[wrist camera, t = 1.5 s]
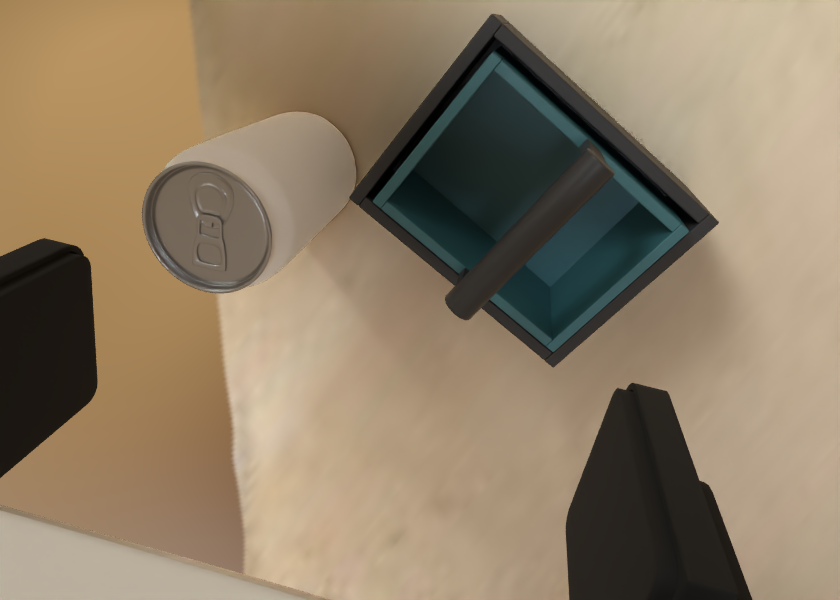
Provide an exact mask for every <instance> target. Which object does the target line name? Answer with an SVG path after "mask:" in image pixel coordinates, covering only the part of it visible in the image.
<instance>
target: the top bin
mask: <svg viewBox="0 0 840 600" xmlns="http://www.w3.org/2000/svg"><path fill="white" fill-rule="evenodd" d="M373 203H375V204H376V205H377V206H378V207H379V208H381V209H382V210H383V211H384V212H385V213H387V214H388V215H389V216H390V217H391V218H393V219H394V220H395V221H396V222H397V223H399V224H400V225H401V226H402V227H403V228H405V229H406V230H407V231H408V232H409V233H411V234H412V235H413V236H414V237H415V238H417V239H418V240H419V241H420V242H421V243H423V244H424V245H425V246H426V247H427V248H429V249H430V250H431V251H432V252H433V253H435V254H436V255H437V256H438V257H439V258H441V259H442V260H443V261H444V262H445V263H447V264H448V265H449V266H450V267H451V268H453V269H454V270H455V271H456V272H457V273H459V276H458V279H457V283H456V286H455V287H454V288H453V289H452V290H451V291H450V292H449V293H448V294H447V295H446V297H445V301H446V304H447V306H448V307H449V309H450V310H451V311H452V312H453V313H454V314H455V315H457V316H458V317H459V318H461V319H463V320H469V319H470V318H471V317H472V316H473V315H474V314H475V313H476V312H477V311H478V310H479V309H480V308H481V307H482V306H483V305H484V304H485V303H486V302H487V301H488V300H489V299H490V300H491V301H492V302H493V303H494V304H496V305H497V306H498V307H499V308H500V309H502V310H503V311H504V312H505V313H506V314H508V315H509V316H510V317H511V318H512V319H514V320H515V321H516V322H517V323H518V324H520V325H521V326H522V327H523V328H524V329H526V330H527V331H528V332H529V333H530V334H532V335H533V336H534V337H535V338H536V339H538V340H539V341H540V342H541V343H542V344H544V345H545V346H546V347H547V348H548V349H550V350H551V351H552V352H554V351H555V350H557V349H558V348H559V347H560V346H561V345H562V344H563V343H564V342H566V341H567V340H568V339H569V338H570V337H571V336H572V335H573V334H575V333H576V332H577V331H578V330H579V329H580V328H581V327H582V326H584V325H585V324H586V323H587V322H588V321H589V320H590V319H592V318H593V317H594V316H595V315H596V314H597V313H598V312H599V311H601V310H602V309H603V308H604V307H605V306H606V305H607V304H608V303H610V302H611V301H612V300H613V299H614V298H615V297H616V296H617V295H619V294H620V293H621V292H622V291H623V290H624V289H625V288H626V287H628V286H629V285H630V284H631V283H632V282H633V281H634V280H636V279H637V278H638V277H639V276H640V275H641V274H642V273H643V272H645V271H646V270H647V269H648V268H649V267H650V266H651V265H652V264H654V263H655V262H656V261H657V260H658V259H659V258H660V257H661V256H663V255H664V254H665V253H666V252H667V251H668V250H669V249H670V248H672V247H673V246H674V245H675V244H676V243H677V242H678V241H680V240H681V239H682V238H683V237H684V236H685V235H686V234H687V233H689V230H688V229H687V227H686V226H685V224H684V223H683V222H682V220H681V219H680V218H679V216H678V215H677V213H676V212H675V211H674V209H673V208H672V207H671V205H670V204H669V202H668V201H667V200H666V198H665V197H664V195H663V194H662V193H661V191H660V190H659V189H658V188H657V187H656V186H655V185H653V184H652V183H651V182H650V181H649V180H648V179H647V178H646V177H645V176H644V175H642V174H641V173H640V172H639V171H638V170H637V169H636V168H635V167H634V166H633V165H632V164H630V163H629V162H628V161H627V160H626V159H625V158H624V157H623V156H622V155H621V154H620V153H618V152H617V151H616V150H615V149H614V148H613V147H612V146H611V145H610V144H609V143H607V142H606V141H605V140H604V139H603V138H602V137H601V136H600V135H599V134H598V133H597V132H595V131H594V130H593V129H592V128H591V127H590V126H589V125H588V124H587V123H586V122H585V121H583V120H582V119H581V118H580V117H579V116H578V115H577V114H576V113H575V112H574V111H572V110H571V109H570V108H569V107H568V106H567V105H566V104H565V103H564V102H563V101H562V100H560V99H559V98H558V97H557V96H556V95H555V94H554V93H553V92H552V91H551V90H550V89H548V88H547V87H546V86H545V85H544V84H543V83H542V82H541V81H540V80H539V79H537V78H536V77H535V76H534V75H533V74H532V73H531V72H530V71H529V70H528V69H527V68H525V67H524V66H523V65H522V64H521V63H520V62H519V61H518V60H517V59H516V58H515V57H513V56H512V55H511V54H510V53H509V52H508V51H507V50H506V49H505V48H504V47H502V46H500V47H499V48H498V49H496V50H495V51H493V52H492V53H491V54H490V55H489V57H488V58H487V59H486V60H485V62H484V63H483V64H482V65H481V67H480V68H479V69H478V70H477V72H476V73H475V74H474V75H473V77H472V78H471V79H470V80H469V82H468V83H467V84H466V85H465V87H464V88H463V89H462V90H461V92H460V93H459V94H458V95H457V97H456V98H455V99H454V100H453V102H452V103H451V104H450V105H449V106H448V108H447V109H446V110H445V111H444V113H443V114H442V115H441V116H440V118H439V119H438V120H437V121H436V123H435V124H434V125H433V126H432V128H431V129H430V130H429V131H428V133H427V134H426V135H425V136H424V138H423V139H422V140H421V141H420V143H419V144H418V145H417V146H416V148H415V149H414V150H413V151H412V153H411V154H410V155H409V156H408V158H407V159H406V160H405V161H404V163H403V164H402V165H401V166H400V168H399V169H398V170H397V171H396V173H395V174H394V175H393V176H392V178H391V179H390V180H389V181H388V182H387V184H386V185H385V186H384V187H383V189H382V190H381V191H380V192H379V194H378V195H377V196H376V197H375V199H374V200H373Z"/></svg>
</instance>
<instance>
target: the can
mask: <svg viewBox="0 0 840 600" xmlns="http://www.w3.org/2000/svg"><path fill="white" fill-rule="evenodd" d="M355 183H356V164H355V159H354V155H353V152H352V150H351V148H350V146H349V144H348V142H347V140H346V139H345V137H344V136H343V135H342V133H341V132H340V131H339V130H338V129H337V128H336V127H335V126H334V125H332V124H331V123H330V122H329V121H327V120H326V119H324V118H322V117H321V116H318V115H316V114H312V113H308V112H287V113H282V114H278V115H275V116H272V117H269V118H267V119H264V120H261V121H258V122H255V123H253V124H250V125H247V126H245V127H242V128H239V129H236V130H234V131H231V132H228V133H226V134H223V135H220V136H218V137H215V138H212V139H210V140H207V141H205V142H202V143H199V144H197V145H195V146H192V147H190V148H188V149H186V150H184V151H182V152H181V153H179V154H178V155H176V156H175V157H174V158H173V159H171V160H170V161H169V162H168V164H167V165H166V166H165V167H164V169H163V170H162V172H161V173H160V174H159V175H158V176H157V177H156V178H155V179H154V180H153V181H152V183H151V184H150V186H149V188H148V189H147V192H146V194H145V197H144V201H143V208H142V221H143V227H144V232H145V235H146V238H147V241H148V243H149V245H150V247H151V249H152V251H153V253H154V254H155V256H156V258H157V259H158V260H159V262H160V263H161V264H162V265H163V266H164V267H165V268H166V269H167V270H168V271H169V272H170V273H171V274H172V275H173V276H174V277H176V278H177V279H178V280H180V281H182V282H183V283H185V284H187V285H189V286H191V287H193V288H195V289H198V290H202V291H205V292H210V293H230V292H234V291H238V290H241V289H243V288H245V287H250V286H254V285H257V284H260V283H262V282H264V281H266V280H268V279H269V278H271V277H272V276H274V275H275V274H276V273H277V272H279V271H280V270H281V269H282V268H283V267H284V266H285V265H286V264H287V263H288V262H290V261H291V260H292V259H293V258H294V257H295V256H296V255H297V254H298V253H299V252H300V251H301V250H302V249H303V248H304V247H305V246H306V245H307V244H308V243H309V242H310V241H311V240H312V239H313V238H314V237H315V236H316V235H317V234H318V233H319V232H320V231H321V230H322V229H323V228H324V227H325V226H326V225H327V224H328V223H329V222H330V221H331V220H332V219H333V218H334V217H335V216H336V215H337V214H338V213H339V212H340V211H341V210H342V209H343V208H344V207H345V206H346V204H347V203H348V201H349V200H350V198H349V196H350V195H351V194H352V193H353V191H354V188H355Z"/></svg>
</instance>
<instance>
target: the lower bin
mask: <svg viewBox="0 0 840 600" xmlns="http://www.w3.org/2000/svg"><path fill="white" fill-rule="evenodd" d="M500 46H502V47H504V48H505V49H506V50H507V51H508V52H509V53H510V54H511V55H512V56H513V57H515V58H516V59H517V60H518V61H519V62H520V63H521V64H522V65H523V66H524V67H525V68H527V69H528V70H529V71H530V72H531V73H532V74H533V75H534V76H535V77H536V78H537V79H539V80H540V81H541V82H542V83H543V84H544V85H545V86H546V87H547V88H548V89H550V90H551V91H552V92H553V93H554V94H555V95H556V96H557V97H558V98H559V99H560V100H562V101H563V102H564V103H565V104H566V105H567V106H568V107H569V108H570V109H571V110H572V111H574V112H575V113H576V114H577V115H578V116H579V117H580V118H581V119H582V120H583V121H585V122H586V123H587V124H588V125H589V126H590V127H591V128H592V129H593V130H594V131H595V132H597V133H598V134H599V135H600V136H601V137H602V138H603V139H604V140H605V141H606V142H607V143H609V144H610V145H611V146H612V147H613V148H614V149H615V150H616V151H617V152H618V153H620V154H621V155H622V156H623V157H624V158H625V159H626V160H627V161H628V162H629V163H630V164H632V165H633V166H634V167H635V168H636V169H637V170H638V171H639V172H640V173H641V174H642V175H644V176H645V177H646V178H647V179H648V180H649V181H650V182H651V183H652V184H653V185H655V186H656V187H657V188H658V189H659V190H660V191H661V193H662V194H663V195H664V197H665V198H666V200H667V201H668V202H669V204H670V205H671V207H672V208H673V209H674V211H675V212H676V213H677V215H678V216H679V218H680V219H681V220H682V222H683V223H684V224H685V226H686V227H687V229H688V230H689V233H687V234H686V235H685V236H684V237H683V238H682V239H681V240H680V241H678V242H677V243H676V244H675V245H674V246H673V247H672V248H670V249H669V250H668V251H667V252H666V253H665V254H664V255H663V256H661V257H660V258H659V259H658V260H657V261H656V262H655V263H654V264H652V265H651V266H650V267H649V268H648V269H647V270H646V271H645V272H643V273H642V274H641V275H640V276H639V277H638V278H637V279H636V280H634V281H633V282H632V283H631V284H630V285H629V286H628V287H626V288H625V289H624V290H623V291H622V292H621V293H620V294H619V295H617V296H616V297H615V298H614V299H613V300H612V301H611V302H610V303H608V304H607V305H606V306H605V307H604V308H603V309H602V310H601V311H599V312H598V313H597V314H596V315H595V316H594V317H593V318H592V319H590V320H589V321H588V322H587V323H586V324H585V325H584V326H582V327H581V328H580V329H579V330H578V331H577V332H576V333H575V334H573V335H572V336H571V337H570V338H569V339H568V340H567V341H566V342H564V343H563V344H562V345H561V346H560V347H559V348H558V349H557V350H555V351H554V352H552V351H551V350H550V349H548V348H547V347H546V346H545V345H544V344H542V343H541V342H540V341H539V340H538V339H536V338H535V337H534V336H533V335H532V334H530V333H529V332H528V331H527V330H526V329H524V328H523V327H522V326H521V325H520V324H518V323H517V322H516V321H515V320H514V319H512V318H511V317H510V316H509V315H508V314H506V313H505V312H504V311H503V310H502V309H500V308H499V307H498V306H497V305H496V304H494V303H493V302H492V301H491V300H490V299H489V300H488V301H487V302H486V303H485V304H484V305H483V306H482V307H481V308H482V309H483V310H485V311H486V312H487V313H488V314H489V315H491V316H492V317H493V318H494V319H495V320H497V321H498V322H499V323H500V324H502V325H503V326H504V327H505V328H506V329H508V330H509V331H510V332H511V333H512V334H514V335H515V336H516V337H517V338H518V339H520V340H521V341H522V342H523V343H524V344H526V345H527V346H528V347H529V348H530V349H532V350H533V351H534V352H535V353H536V354H538V355H539V356H540V357H541V358H542V359H544V360H545V361H546V362H547V363H548V364H549V365H551V366H552V367H555V366H556V365H557V364H558V363H559V362H560V361H561V360H563V359H564V358H565V357H566V356H567V355H568V354H569V353H571V352H572V351H573V350H574V349H575V348H576V347H577V346H579V345H580V344H581V343H582V342H583V341H584V340H586V339H587V338H588V337H589V336H590V335H591V334H592V333H594V332H595V331H596V330H597V329H598V328H599V327H600V326H602V325H603V324H604V323H605V322H606V321H607V320H608V319H610V318H611V317H612V316H613V315H614V314H615V313H616V312H618V311H619V310H620V309H621V308H622V307H623V306H625V305H626V304H627V303H628V302H629V301H630V300H631V299H633V298H634V297H635V296H636V295H637V294H638V293H639V292H641V291H642V290H643V289H644V288H645V287H646V286H647V285H649V284H650V283H651V282H652V281H653V280H654V279H655V278H657V277H658V276H659V275H660V274H661V273H662V272H663V271H665V270H666V269H667V268H668V267H669V266H670V265H672V264H673V263H674V262H675V261H676V260H677V259H678V258H680V257H681V256H682V255H683V254H684V253H685V252H686V251H688V250H689V249H690V248H691V247H692V246H693V245H694V244H696V243H697V242H698V241H699V240H700V239H701V238H702V237H704V236H705V235H706V234H707V233H708V232H709V231H711V230H712V229H713V228H714V227H715V226H716V225H717V224H718V223H719V222H718V221H717V220H716V219H715V218H714V216H713V215H712V214H711V213H710V212H709V211H708V210H707V209H706V208H705V206H704V205H703V204H702V203H701V202H700V201H699V200H698V199H697V198H696V196H695V195H694V194H693V193H692V192H691V191H690V190H689V189H688V188H687V186H686V185H684V184H683V183H682V182H681V181H680V180H679V179H678V178H677V177H676V176H675V175H674V174H673V173H671V172H670V171H669V170H668V169H667V168H666V167H665V166H664V165H663V164H662V163H661V162H660V161H658V160H657V159H656V158H655V157H654V156H653V155H652V154H651V153H650V152H649V151H648V150H647V149H645V148H644V147H643V146H642V145H641V144H640V143H639V142H638V141H637V140H636V139H635V138H634V137H632V136H631V135H630V134H629V133H628V132H627V131H626V130H625V129H624V128H623V127H622V126H621V125H619V124H618V123H617V122H616V121H615V120H614V119H613V118H612V117H611V116H610V115H609V114H608V113H606V112H605V111H604V110H603V109H602V108H601V107H600V106H599V105H598V104H597V103H596V102H595V101H593V100H592V99H591V98H590V97H589V96H588V95H587V94H586V93H585V92H584V91H583V90H582V89H580V88H579V87H578V86H577V85H576V84H575V83H574V82H573V81H572V80H571V79H570V78H569V77H568V76H566V75H565V74H564V73H563V72H562V71H561V70H560V69H559V68H558V67H557V66H556V65H555V64H553V63H552V62H551V61H550V60H549V59H548V58H547V57H546V56H545V55H544V54H543V53H542V52H540V51H539V50H538V49H537V48H536V47H535V46H534V45H533V44H532V43H531V42H530V41H529V40H527V39H526V38H525V37H524V36H523V35H522V34H521V33H520V32H519V31H518V30H517V29H516V28H514V27H513V26H512V25H511V24H510V23H509V22H508V21H507V20H506V19H505V18H504V17H503V16H501V15H495V14H491V15H490V16H489V18H488V19H487V20H486V22H485V23H484V24H483V25H482V27H481V28H480V29H479V31H478V32H477V33H476V34H475V36H474V37H473V38H472V40H471V41H470V42H469V43H468V45H467V46H466V47H465V49H464V50H463V51H462V52H461V54H460V55H459V56H458V58H457V59H456V60H455V61H454V63H453V64H452V65H451V67H450V68H449V69H448V70H447V72H446V73H445V74H444V76H443V77H442V78H441V79H440V81H439V82H438V83H437V85H436V86H435V87H434V88H433V90H432V91H431V92H430V94H429V95H428V96H427V97H426V99H425V100H424V101H423V103H422V104H421V105H420V106H419V108H418V109H417V110H416V112H415V113H414V114H413V115H412V117H411V118H410V119H409V121H408V122H407V123H406V124H405V126H404V127H403V128H402V130H401V131H400V132H399V133H398V135H397V136H396V137H395V139H394V140H393V141H392V142H391V144H390V145H389V146H388V148H387V149H386V150H385V151H384V153H383V154H382V155H381V157H380V158H379V159H378V160H377V162H376V163H375V164H374V166H373V167H372V168H371V169H370V171H369V172H368V173H367V175H366V176H365V177H364V178H363V180H362V181H361V182H360V184H359V185H358V186H357V187H356V189H355V190H354V191H353V193H352V194H351V195H350V196H349V198H350V199H351V200H352V201H353V202H354V203H356V204H357V205H359V207H361V208H362V209H363V210H364V211H365V212H367V213H368V214H369V215H370V216H371V217H373V218H374V219H375V220H376V221H377V222H379V223H380V224H381V225H382V226H383V227H385V228H386V229H387V230H388V231H389V232H391V233H392V234H393V235H394V236H395V237H397V238H398V239H399V240H400V241H401V242H403V243H404V244H405V245H406V246H408V247H409V248H410V249H411V250H412V251H414V252H415V253H416V254H417V255H418V256H420V257H421V258H422V259H423V260H424V261H426V262H427V263H428V264H429V265H430V266H432V267H433V268H434V269H435V270H436V271H438V272H439V273H440V274H441V275H442V276H444V277H445V278H446V279H447V280H448V281H450V282H451V283H452V284H453V285H455V286H456V283H457V279H458V276H459V273H457V272H456V271H455V270H454V269H453V268H451V267H450V266H449V265H448V264H447V263H445V262H444V261H443V260H442V259H441V258H439V257H438V256H437V255H436V254H435V253H433V252H432V251H431V250H430V249H429V248H427V247H426V246H425V245H424V244H423V243H421V242H420V241H419V240H418V239H417V238H415V237H414V236H413V235H412V234H411V233H409V232H408V231H407V230H406V229H405V228H403V227H402V226H401V225H400V224H399V223H397V222H396V221H395V220H394V219H393V218H391V217H390V216H389V215H388V214H387V213H385V212H384V211H383V210H382V209H381V208H379V207H378V206H377V205H376V204H375V203H373V200H374V199H375V197H376V196H377V195H378V194H379V192H380V191H381V190H382V189H383V187H384V186H385V185H386V184H387V182H388V181H389V180H390V179H391V178H392V176H393V175H394V174H395V173H396V171H397V170H398V169H399V168H400V166H401V165H402V164H403V163H404V161H405V160H406V159H407V158H408V156H409V155H410V154H411V153H412V151H413V150H414V149H415V148H416V146H417V145H418V144H419V143H420V141H421V140H422V139H423V138H424V136H425V135H426V134H427V133H428V131H429V130H430V129H431V128H432V126H433V125H434V124H435V123H436V121H437V120H438V119H439V118H440V116H441V115H442V114H443V113H444V111H445V110H446V109H447V108H448V106H449V105H450V104H451V103H452V102H453V100H454V99H455V98H456V97H457V95H458V94H459V93H460V92H461V90H462V89H463V88H464V87H465V85H466V84H467V83H468V82H469V80H470V79H471V78H472V77H473V75H474V74H475V73H476V72H477V70H478V69H479V68H480V67H481V65H482V64H483V63H484V62H485V60H486V59H487V58H488V57H489V55H490V54H491V53H492V52H493V51H495V50H496V49H498V48H499V47H500Z"/></svg>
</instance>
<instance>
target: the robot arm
mask: <svg viewBox="0 0 840 600" xmlns="http://www.w3.org/2000/svg"><path fill="white" fill-rule="evenodd" d="M96 389H97V366H96V348H95V331H94V314H93V296H92V280H91V265H90V262H89V260H88V258H86V257H85V256H84V254H83V252H82V251H81V249H80V248H78V247H77V246H74V245H70V244H66V243H62V242H57V241H54V240H49V239H45V238H44V239H40V240H37V241H35V242H32V243H30V244H28V245H26V246H23V247H21V248H19V249H16V250H14V251H12V252H10V253H7V254H5V255H3V256H0V478H1V477H2V476H3V475H4V474H5V473H7V472H8V471H9V470H10V469H11V468H13V467H14V466H15V465H16V464H17V463H18V462H20V461H21V460H22V459H23V458H24V457H26V456H27V455H28V454H29V453H30V452H31V451H33V450H34V449H35V448H36V447H37V446H39V445H40V444H41V443H42V442H43V441H44V440H46V439H47V438H48V437H49V436H50V435H52V434H53V433H54V432H55V431H56V430H57V429H59V428H60V427H61V426H62V425H63V424H64V423H66V422H67V421H68V420H69V419H70V418H72V417H73V416H74V415H75V414H76V413H77V412H79V411H80V410H81V409H82V408H83V407H84V406H86V405H87V404H88V403H89V402H90V401H91V399H92V398H93V396H94V394H95V392H96ZM566 544H567V562H568V581H569V599H570V600H752V597H751V595H750V592H749V589H748V587H747V584H746V581H745V579H744V576H743V573H742V570H741V568H740V565H739V562H738V560H737V557H736V554H735V552H734V549H733V546H732V543H731V541H730V538H729V535H728V533H727V530H726V527H725V525H724V522H723V519H722V516H721V514H720V511H719V508H718V506H717V503H716V500H715V498H714V495H713V492H712V491H711V489H710V487H709V485H707V484H706V483H704V482H702V481H699V478H698V476H697V473H696V470H695V467H694V464H693V461H692V458H691V456H690V453H689V450H688V447H687V444H686V441H685V438H684V436H683V433H682V430H681V427H680V424H679V421H678V419H677V416H676V413H675V410H674V407H673V404H672V401H671V399H670V396H669V394H668V392H667V391H663V390H659V389H655V388H651V387H647V386H643V385H639V384H635V383H631V384H630V385H629V386H628V388H627V389H626V390H623V389H619V388H617V389H616V390H615V392H614V394H613V396H612V398H611V401H610V403H609V406H608V409H607V411H606V414H605V416H604V419H603V422H602V424H601V427H600V430H599V432H598V435H597V437H596V440H595V443H594V445H593V448H592V450H591V453H590V456H589V458H588V461H587V464H586V466H585V469H584V471H583V474H582V477H581V479H580V482H579V484H578V487H577V490H576V492H575V495H574V497H573V500H572V503H571V505H570V508H569V511H568V516H567V521H566ZM0 600H330V599H327V598H323V597H320V596H316V595H313V594H310V593H306V592H303V591H299V590H296V589H292V588H289V587H286V586H282V585H279V584H275V583H272V582H268V581H265V580H262V579H258V578H255V577H251V576H248V575H244V574H241V573H238V572H234V571H230V570H227V569H224V568H220V567H217V566H213V565H210V564H206V563H203V562H199V561H196V560H192V559H188V558H185V557H182V556H178V555H174V554H171V553H168V552H164V551H160V550H157V549H154V548H150V547H147V546H143V545H140V544H136V543H132V542H129V541H126V540H122V539H119V538H115V537H112V536H108V535H105V534H101V533H98V532H94V531H91V530H87V529H84V528H80V527H76V526H73V525H69V524H66V523H63V522H59V521H55V520H52V519H48V518H45V517H41V516H38V515H34V514H31V513H27V512H23V511H20V510H17V509H13V508H9V507H6V506H2V505H0Z"/></svg>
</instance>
